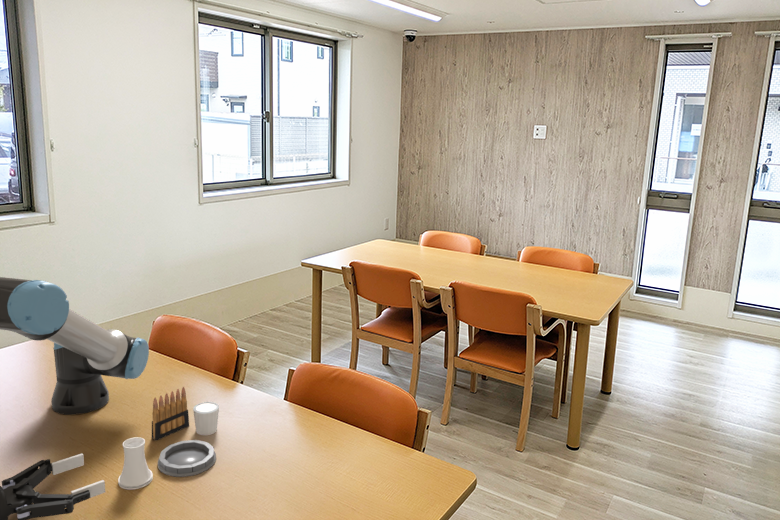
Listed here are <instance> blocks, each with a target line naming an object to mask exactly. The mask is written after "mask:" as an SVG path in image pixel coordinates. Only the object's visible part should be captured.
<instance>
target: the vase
mask: <svg viewBox="0 0 780 520" xmlns="http://www.w3.org/2000/svg"><path fill="white" fill-rule="evenodd" d="M145 443H146V439H145V438H143V437H140V436H139V437H138V436H136V437H130V438H127V439H125V440H124V441H123V442H122V447H123V456H124V457H123V458H124V459H123V460H124V461H123V467H122V471H121V474H120V475H119V477H118V479H117V481H118V486H119V487H120V488H121V489H124V490H132V491H133V490H138V489H142V488H144V487H146V486H148V485H149V484H150V483H151V482H152V481H153V479H154V478H153V477H154V476H153V471H152V470H151V469H149V466H148V463H147V460H146V455H145V445H146V444H145Z"/></svg>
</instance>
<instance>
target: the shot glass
mask: <svg viewBox="0 0 780 520" xmlns="http://www.w3.org/2000/svg"><path fill="white" fill-rule="evenodd" d="M219 410H220V404H218V403H217V402H213V401H204V402H199V403H197V404H196V405H194V406H193V408H192V411H193V418H194V426H195V432H196V434H197V435H199V436H210V435H213V434H215V433H216V432H217V431H218V424H219V423H218V422H219V421H218V420H219V412H220V411H219Z"/></svg>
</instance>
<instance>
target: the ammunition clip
mask: <svg viewBox="0 0 780 520" xmlns="http://www.w3.org/2000/svg"><path fill="white" fill-rule="evenodd" d="M189 418H190V417H189V409H188V401H187V393H186V389H185V386H182V388H181V393H180V390H179V388H177V389H176V391H175V393H174V391H173V390H171V392H170V397H169V393H167V392H166V393H165V396H164V398H163V395H160V396H159V400H158V399H157V398H156V397H154V398H153V401H152V420H151V439H152V440H153V441H159V440H162V439H163V438H166V437H168V436H170V435H172V434H175V433H177V432H179V431H181V430H184V429H185V428H188V427H190V419H189Z"/></svg>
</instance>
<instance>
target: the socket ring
mask: <svg viewBox="0 0 780 520" xmlns="http://www.w3.org/2000/svg"><path fill="white" fill-rule="evenodd" d="M216 460H217V455H216V452H215V447H214V446H213V445H211V443H209V442H207V441H203V440H199V439H189V440H180V441H178V442H175V443H172V444H169V445H167V446H166V447H165V448H164V449H162V450H161V452H160V454H159V458H158V460H157V468H158V471H160V473H162V474H164V475H166V476H168V477H173V478H188V477H194V476H196V475H200V474H202V473H205V472H206V471H208V470H209V469H211V468H212V467H213V466H214V465H215V463H216Z"/></svg>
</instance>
